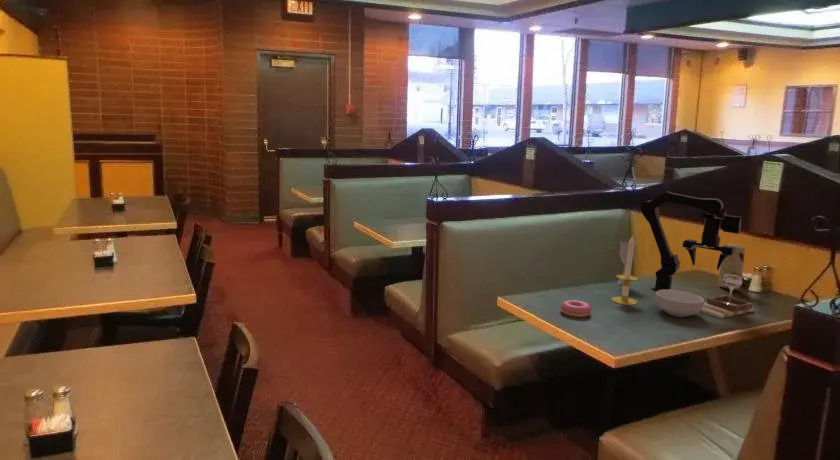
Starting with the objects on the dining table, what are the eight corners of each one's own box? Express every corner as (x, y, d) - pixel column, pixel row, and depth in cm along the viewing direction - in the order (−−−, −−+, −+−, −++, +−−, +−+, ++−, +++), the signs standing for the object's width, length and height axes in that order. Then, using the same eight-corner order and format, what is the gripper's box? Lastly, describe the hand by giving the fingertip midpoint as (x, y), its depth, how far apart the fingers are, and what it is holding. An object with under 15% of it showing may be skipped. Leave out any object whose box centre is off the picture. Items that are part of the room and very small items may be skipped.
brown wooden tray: (721, 318, 234) (722, 310, 234) (690, 307, 245) (691, 300, 245) (753, 311, 246) (754, 303, 245) (722, 301, 256) (723, 294, 256)
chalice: (633, 283, 276) (638, 243, 273) (631, 287, 270) (636, 245, 267) (615, 280, 279) (620, 240, 276) (613, 284, 273) (618, 243, 270)
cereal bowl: (682, 323, 225) (685, 304, 224) (644, 310, 239) (646, 292, 238) (711, 317, 235) (714, 299, 233) (672, 304, 248) (674, 287, 247)
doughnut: (579, 308, 237) (580, 297, 236) (597, 317, 227) (598, 306, 226) (554, 309, 233) (555, 299, 232) (571, 319, 223) (572, 308, 222)
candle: (622, 296, 256) (630, 230, 250) (643, 303, 247) (652, 236, 242) (605, 299, 250) (613, 232, 245) (626, 306, 242) (635, 237, 237)
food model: (713, 286, 279) (720, 242, 275) (722, 285, 282) (729, 241, 279) (735, 292, 271) (742, 247, 267) (743, 291, 274) (750, 246, 271)
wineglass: (737, 309, 243) (742, 279, 241) (718, 305, 247) (722, 276, 244) (739, 305, 249) (744, 275, 246) (720, 301, 252) (725, 272, 250)
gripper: (740, 231, 255) (734, 268, 258) (692, 224, 266) (687, 260, 269) (734, 234, 246) (728, 273, 249) (684, 227, 257) (679, 264, 260)
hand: (705, 267), depth 257 cm, fingers open, 9 cm apart
